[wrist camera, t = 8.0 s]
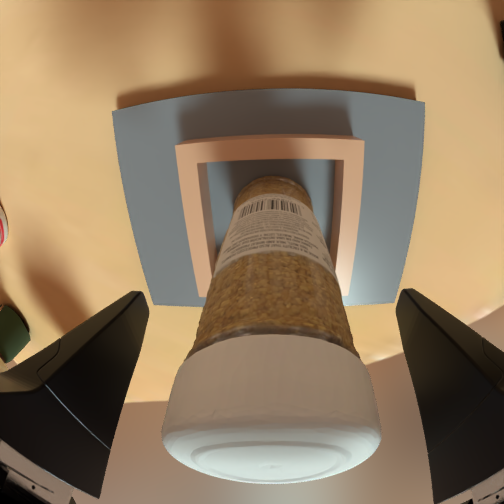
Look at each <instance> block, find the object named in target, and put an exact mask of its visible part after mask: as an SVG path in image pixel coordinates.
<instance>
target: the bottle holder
mask: <svg viewBox="0 0 504 504" xmlns="http://www.w3.org/2000/svg"><path fill="white" fill-rule="evenodd" d="M112 116H113V125H114V133H115V140H116V147H117V154H118V160H119V166H120V172H121V178H122V183H123V188H124V193H125V198H126V203H127V208H128V212H129V217H130V221H131V225H132V230H133V234H134V238H135V242H136V246H137V250H138V253H139V257H140V261H141V264H142V268H143V272H144V275H145V278H146V282H147V285H148V288H149V292H150V295H151V298H152V301H153V304H154V305H166V306H190V307H204V305H205V302H206V297H207V292H208V290H209V286H210V283H211V279H212V276H213V273H214V270H215V264H216V261H217V258H218V255H219V252H220V249H221V246H222V243H223V240H224V237H225V234H226V232H227V230H228V228H229V225H230V222H231V219H232V216H233V210H234V203H235V200H236V198H237V196H238V195H239V193H240V192H241V190H242V189H243V188H244V187H246V186H247V185H248V184H249V183H251V182H252V181H253V180H256V179H258V178H262V177H265V176H281V177H285V178H289V179H291V180H293V181H295V182H296V183H297V184H299V185H300V186H301V187H302V188H303V189H304V190H305V191H306V193H307V194H308V196H309V197H310V199H311V202H312V206H313V214H314V215H315V217H316V219H317V221H318V223H319V226H320V229H321V232H322V234H323V237H324V240H325V243H326V246H327V249H328V252H329V254H330V257H331V260H332V263H333V267H334V270H335V273H336V276H337V279H338V282H339V285H340V289H341V293H342V301H343V305H344V306H351V305H369V304H385V303H394V302H395V298H396V295H397V292H398V288H399V284H400V281H401V277H402V273H403V269H404V265H405V261H406V257H407V252H408V248H409V243H410V238H411V233H412V228H413V223H414V217H415V211H416V205H417V199H418V192H419V184H420V176H421V166H422V155H423V142H424V121H425V102H420V101H415V100H410V99H404V98H398V97H392V96H386V95H379V94H371V93H362V92H353V91H341V90H326V89H252V90H236V91H224V92H214V93H206V94H198V95H190V96H184V97H177V98H171V99H165V100H160V101H155V102H150V103H145V104H140V105H136V106H132V107H127V108H123V109H119V110H115V111H112Z"/></svg>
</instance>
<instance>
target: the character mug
mask: <svg viewBox="0 0 504 504" xmlns="http://www.w3.org/2000/svg"><path fill="white" fill-rule="evenodd" d="M1 306H2V305H0V307H1ZM29 341H30V335H29V333H28V331H27V329H26V327H25V326H24V324H23V322H22V320H21V318H20V317H19V316H18V315H17V314H16V313H15V312H14V310H12V309H11V308H10V307H8V306H7V305H5V306H4V307H3V308H2V310H1V311H0V373H1V372H5V371H7V370H8V368H7V366H6V365H5V363H8V362H10V361H11V360H12V359H13V358H14V357H15V356H16V355H17V354H18V353H19V352H20V351H21V350H22V349H23V348H24V347H25V346H26V345H27V343H28V342H29Z"/></svg>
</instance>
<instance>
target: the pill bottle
mask: <svg viewBox="0 0 504 504" xmlns="http://www.w3.org/2000/svg"><path fill="white" fill-rule="evenodd" d="M7 236H8V225H7V220H6V216H5V214H4V211H3V209H2V208H1V206H0V246H1V245H2V244H4V243H5V241H6V239H7Z"/></svg>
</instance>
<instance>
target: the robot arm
mask: <svg viewBox="0 0 504 504" xmlns="http://www.w3.org/2000/svg"><path fill="white" fill-rule="evenodd" d="M501 28H502V33H503V39H504V20H502V21H501ZM396 316H397V321H398V326H399V330H400V335H401V340H402V345H403V350H404V353H405V357H406V360H407V364H408V367H409V371H410V375H411V378H412V382H413V386H414V390H415V394H416V398H417V402H418V406H419V411H420V415H421V419H422V425H423V429H424V434H425V440H426V445H427V452H428V459H429V466H430V473H431V481H432V490H433V501H434V504H439V503H441V502H444V501H446V500H448V499H451V498H453V497H455V496H458V495H460V494H462V493H464V492H466V491H468V490H470V489H471V494H472V499H470V500H468V501H466V502H464V503H462V504H504V352H502V351H501V350H500V349H498V348H497V347H496V346H494V345H493V344H491V343H490V342H489V341H487V340H486V339H485V338H483V337H481V335H479V334H478V333H477V332H475V331H474V330H472V329H471V328H470V327H468V326H467V325H465V324H464V323H463V322H461V321H460V320H458V319H457V318H456V317H454V316H453V315H451V314H450V313H448V312H447V311H446V310H444V309H443V308H441V307H440V306H438V305H437V304H435V303H434V302H432V301H431V300H430V299H428V298H427V297H425V296H424V295H422V294H421V293H419V292H418V291H416V290H415V289H412V288H409V289H403V290H402V291H401V293H400V296H399V300H398V303H397V306H396ZM148 318H149V308H148V305H147V302H146V299H145V296H144V294H143V292H141V291H131V292H129V293H128V294H126V295H125V296H123V297H121V298H120V299H118V300H117V301H115V302H114V303H112V304H111V305H109V306H108V307H106V308H105V309H103V310H101V311H100V312H98V313H97V314H95V315H94V316H92V317H91V318H89V319H88V320H86V321H85V322H83V323H82V324H80V325H79V326H77V327H76V328H74V329H73V330H71V331H70V332H68V333H67V334H65V335H64V336H62V337H61V339H60V338H59V339H58V340H56V341H55V342H54V343H52V344H51V345H49V346H48V347H46V348H44V349H43V350H41V351H40V352H38V353H36V354H35V355H33V356H31V357H30V358H28V359H26V360H25V361H23V362H21V363H20V364H18V365H16V366H15V367H13V368H11V369H9V370H7V371H5V372H1V373H0V504H76V503H75V501H74V499H73V497H71V495H72V492H73V489H74V488H75V489H77V490H79V491H81V492H84V493H86V494H88V495H90V496H93V497H95V498H98V499H99V497H100V494H101V489H102V484H103V480H104V476H105V471H106V467H107V463H108V458H109V455H110V449H111V446H112V442H113V439H114V435H115V431H116V427H117V424H118V421H119V417H120V414H121V410H122V407H123V404H124V400H125V397H126V394H127V391H128V387H129V384H130V381H131V378H132V375H133V372H134V369H135V366H136V363H137V360H138V357H139V354H140V351H141V347H142V343H143V339H144V334H145V330H146V326H147V322H148Z"/></svg>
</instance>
